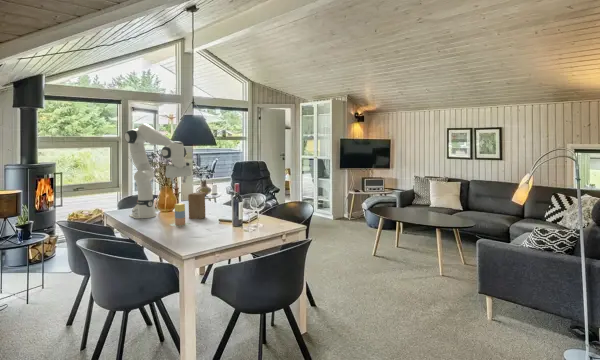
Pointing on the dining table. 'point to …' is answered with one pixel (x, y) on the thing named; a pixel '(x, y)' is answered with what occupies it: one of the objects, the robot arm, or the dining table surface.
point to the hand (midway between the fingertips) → (178, 183)
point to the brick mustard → (179, 207)
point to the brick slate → (180, 214)
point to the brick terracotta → (179, 221)
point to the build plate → (180, 225)
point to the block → (196, 205)
